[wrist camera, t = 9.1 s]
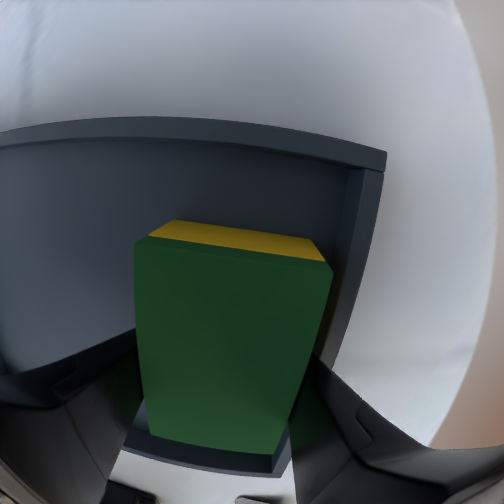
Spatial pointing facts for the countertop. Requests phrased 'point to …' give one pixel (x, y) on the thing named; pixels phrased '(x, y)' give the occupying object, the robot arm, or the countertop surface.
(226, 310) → the sponge
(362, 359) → the countertop surface
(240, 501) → the cleaver
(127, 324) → the tray
